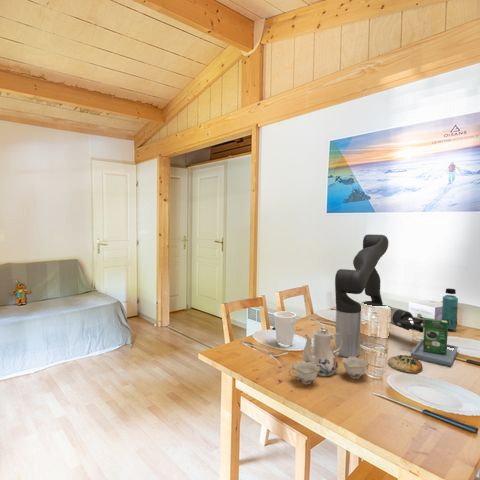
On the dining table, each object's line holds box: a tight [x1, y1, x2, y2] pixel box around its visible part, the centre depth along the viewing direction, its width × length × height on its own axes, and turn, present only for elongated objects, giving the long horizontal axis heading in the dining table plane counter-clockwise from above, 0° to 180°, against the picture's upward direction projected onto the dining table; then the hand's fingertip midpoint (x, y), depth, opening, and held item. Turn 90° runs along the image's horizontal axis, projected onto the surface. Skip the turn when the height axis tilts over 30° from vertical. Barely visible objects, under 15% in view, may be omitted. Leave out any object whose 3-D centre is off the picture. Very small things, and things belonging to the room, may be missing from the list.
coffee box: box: [423, 317, 449, 355], centre depth 129 cm, size 8×3×13 cm, turn 60°
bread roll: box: [387, 354, 423, 374], centre depth 118 cm, size 11×11×5 cm
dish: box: [410, 338, 459, 369], centre depth 129 cm, size 19×13×2 cm
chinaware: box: [288, 324, 370, 385], centre depth 112 cm, size 28×17×17 cm, turn 107°
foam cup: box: [273, 310, 297, 345], centre depth 139 cm, size 10×9×13 cm
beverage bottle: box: [441, 288, 459, 330], centre depth 158 cm, size 6×7×20 cm
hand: (431, 328), depth 130 cm, fingers open, 8 cm apart
